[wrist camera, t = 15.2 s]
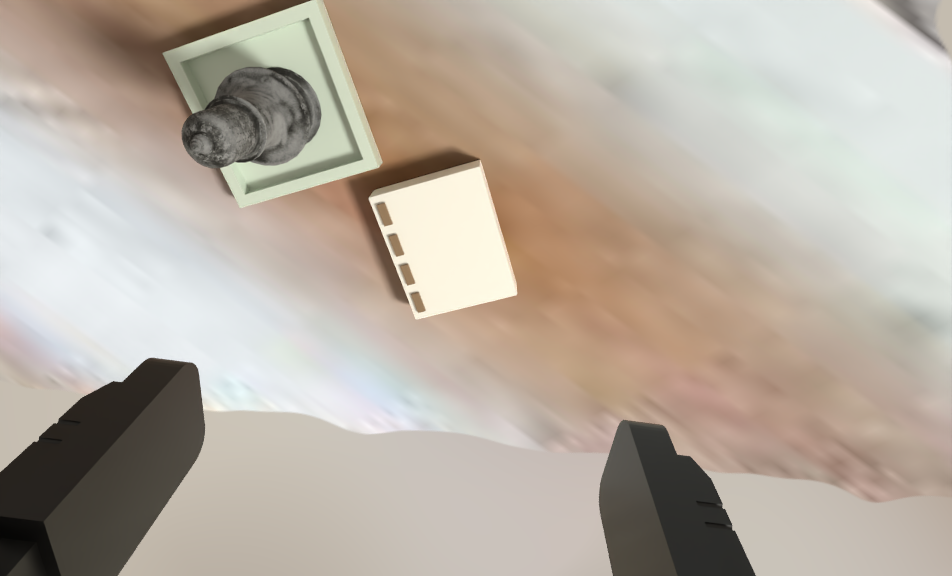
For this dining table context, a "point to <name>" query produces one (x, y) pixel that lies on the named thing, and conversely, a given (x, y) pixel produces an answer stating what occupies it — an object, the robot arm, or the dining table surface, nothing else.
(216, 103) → the grey stone rounded piece
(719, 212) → the dining table surface
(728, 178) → the dining table surface
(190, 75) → the tray
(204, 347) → the dining table surface
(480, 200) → the board
